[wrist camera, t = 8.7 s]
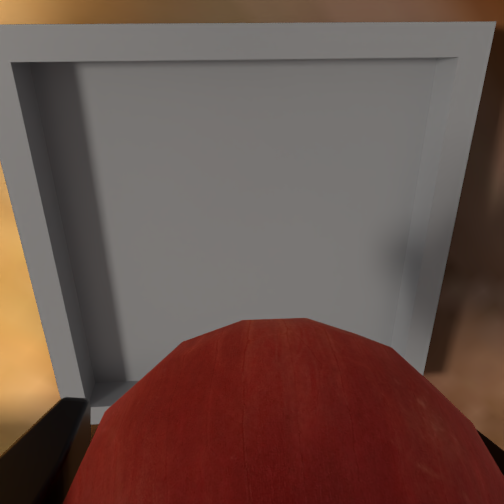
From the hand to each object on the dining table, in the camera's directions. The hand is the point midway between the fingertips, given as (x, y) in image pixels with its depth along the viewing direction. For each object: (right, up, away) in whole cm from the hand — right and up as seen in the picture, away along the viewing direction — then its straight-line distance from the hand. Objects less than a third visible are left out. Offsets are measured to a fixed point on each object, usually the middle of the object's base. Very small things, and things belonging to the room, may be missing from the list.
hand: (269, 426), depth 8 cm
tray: (-1, +4, +8) cm, 8 cm away
